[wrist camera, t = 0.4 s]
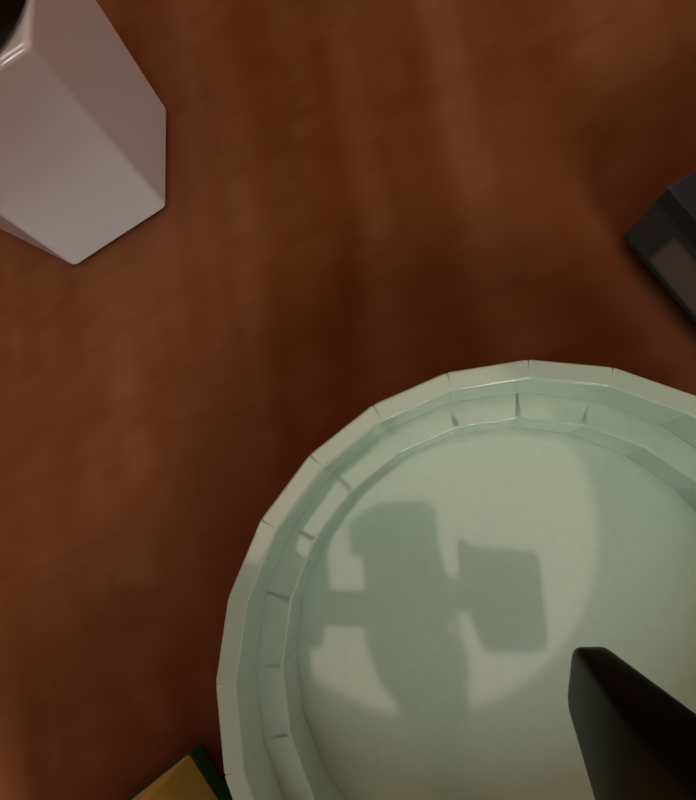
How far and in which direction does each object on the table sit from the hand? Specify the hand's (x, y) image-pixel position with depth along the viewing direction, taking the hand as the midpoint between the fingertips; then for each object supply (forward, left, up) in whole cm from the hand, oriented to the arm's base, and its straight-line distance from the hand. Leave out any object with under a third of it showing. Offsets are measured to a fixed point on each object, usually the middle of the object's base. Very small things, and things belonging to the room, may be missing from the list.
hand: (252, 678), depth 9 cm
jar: (+21, -1, -14) cm, 25 cm away
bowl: (-5, -3, -14) cm, 16 cm away
